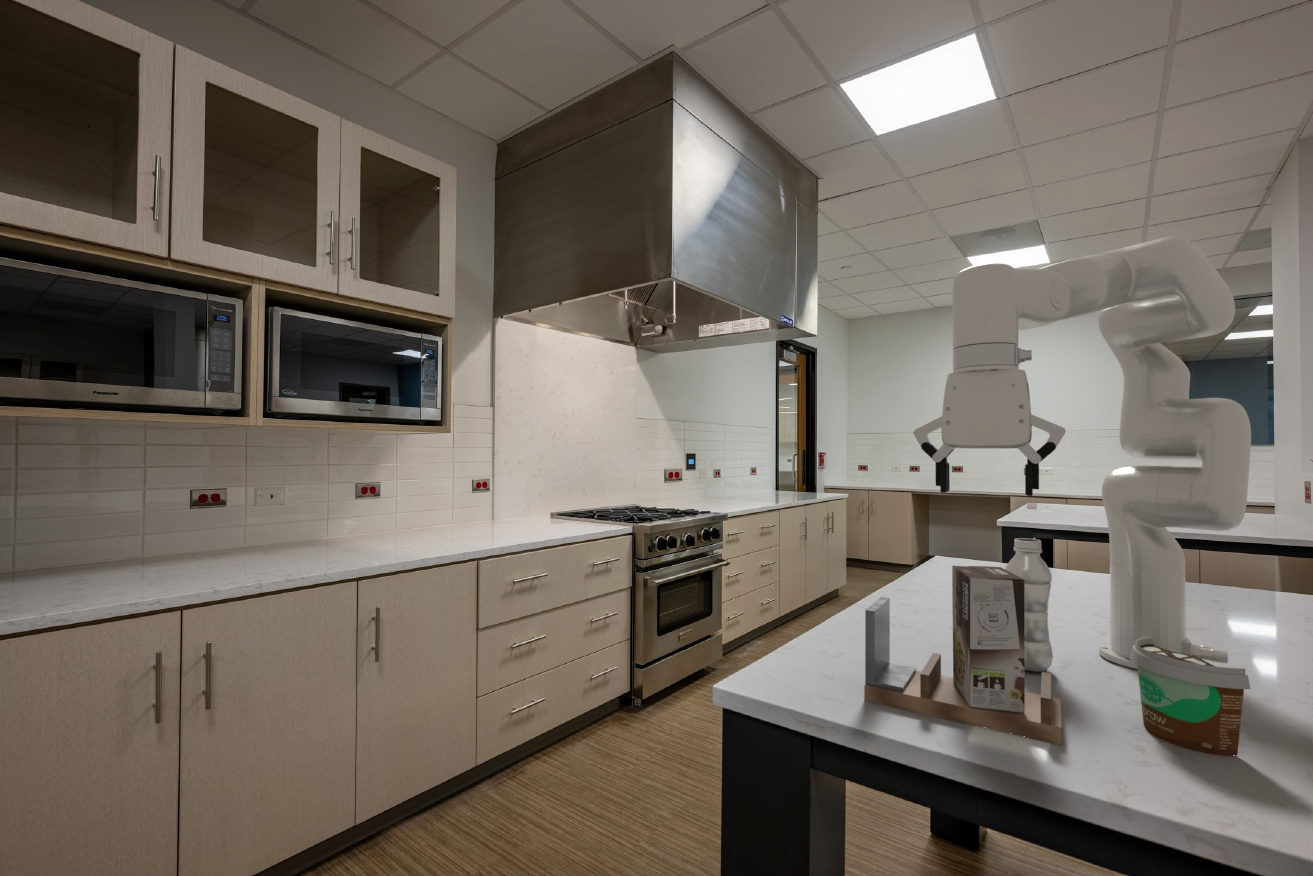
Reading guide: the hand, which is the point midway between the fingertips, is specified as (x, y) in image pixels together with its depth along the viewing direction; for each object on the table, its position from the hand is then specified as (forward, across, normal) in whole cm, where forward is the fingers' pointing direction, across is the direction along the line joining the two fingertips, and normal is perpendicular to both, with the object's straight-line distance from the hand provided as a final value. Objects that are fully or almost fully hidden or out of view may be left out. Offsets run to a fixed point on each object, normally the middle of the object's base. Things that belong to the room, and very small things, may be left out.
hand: (985, 493), depth 78 cm
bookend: (+26, +12, 0) cm, 29 cm away
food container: (+28, -19, -5) cm, 34 cm away
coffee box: (+26, 0, 0) cm, 26 cm away
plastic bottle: (+28, -4, -22) cm, 36 cm away
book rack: (+28, +3, 0) cm, 28 cm away
